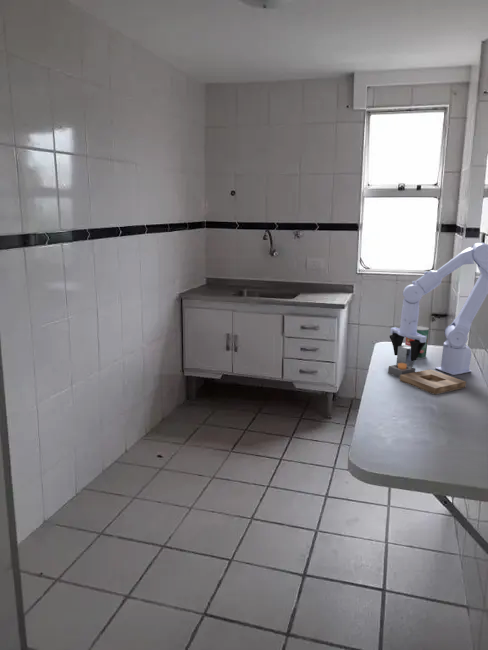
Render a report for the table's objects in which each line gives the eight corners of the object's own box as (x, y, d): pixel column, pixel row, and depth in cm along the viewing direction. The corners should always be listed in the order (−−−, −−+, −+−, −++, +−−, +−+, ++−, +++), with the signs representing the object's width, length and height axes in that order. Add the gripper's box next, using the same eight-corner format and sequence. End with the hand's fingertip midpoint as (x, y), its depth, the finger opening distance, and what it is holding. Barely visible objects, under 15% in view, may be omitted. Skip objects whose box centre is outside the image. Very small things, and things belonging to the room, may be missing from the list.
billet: (404, 364, 196) (406, 344, 194) (413, 367, 193) (415, 347, 191) (396, 365, 194) (398, 346, 192) (404, 368, 191) (406, 348, 189)
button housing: (400, 370, 188) (401, 363, 187) (414, 375, 183) (415, 368, 182) (388, 373, 184) (388, 366, 184) (401, 378, 179) (402, 371, 179)
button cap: (401, 369, 185) (402, 362, 185) (407, 371, 183) (408, 364, 182) (395, 370, 184) (396, 363, 183) (401, 372, 181) (402, 365, 181)
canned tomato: (429, 356, 207) (432, 327, 205) (419, 360, 202) (423, 330, 199) (410, 351, 212) (413, 323, 210) (400, 355, 207) (403, 326, 204)
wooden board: (429, 375, 184) (430, 369, 184) (465, 387, 172) (466, 381, 172) (399, 380, 177) (400, 374, 177) (434, 394, 165) (435, 388, 165)
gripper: (385, 316, 194) (381, 353, 197) (417, 325, 181) (413, 364, 185) (399, 314, 197) (396, 351, 200) (432, 323, 185) (427, 362, 188)
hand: (405, 357), depth 193 cm, fingers open, 7 cm apart
